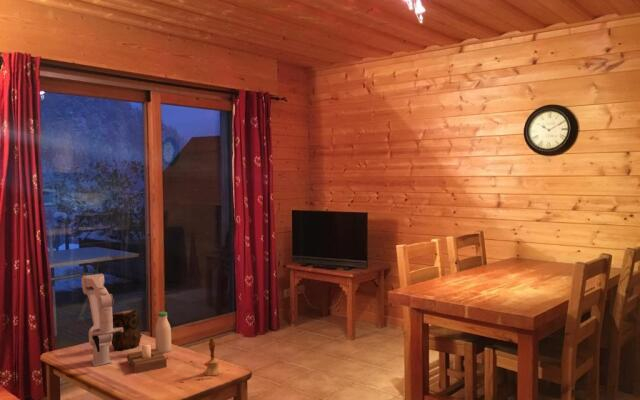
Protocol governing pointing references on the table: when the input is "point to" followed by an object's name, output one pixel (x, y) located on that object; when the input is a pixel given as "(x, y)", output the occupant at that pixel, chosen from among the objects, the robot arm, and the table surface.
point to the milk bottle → (163, 333)
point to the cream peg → (146, 351)
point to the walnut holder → (146, 361)
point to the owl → (127, 330)
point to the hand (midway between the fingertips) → (107, 349)
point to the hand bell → (212, 362)
